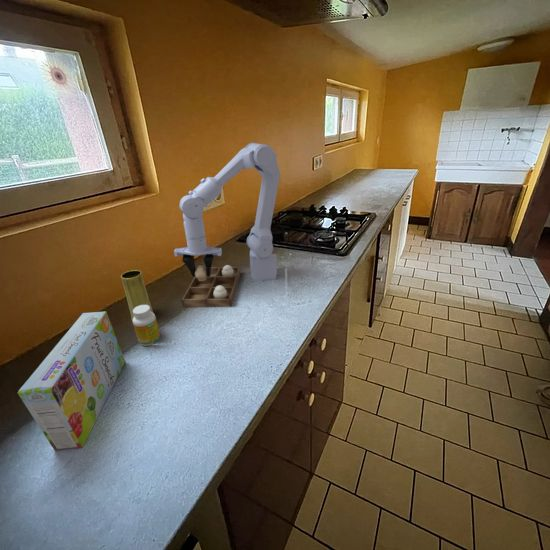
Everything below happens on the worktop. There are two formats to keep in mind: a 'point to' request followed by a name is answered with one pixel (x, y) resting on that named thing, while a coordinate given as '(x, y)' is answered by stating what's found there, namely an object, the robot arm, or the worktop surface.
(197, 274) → the beige egg
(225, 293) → the cream egg near
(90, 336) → the snack box
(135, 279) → the vase
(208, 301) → the egg tray
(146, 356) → the worktop surface
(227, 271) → the cream egg far
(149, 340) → the supplement bottle
